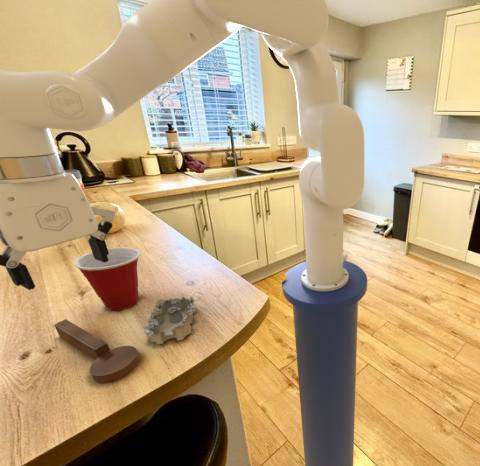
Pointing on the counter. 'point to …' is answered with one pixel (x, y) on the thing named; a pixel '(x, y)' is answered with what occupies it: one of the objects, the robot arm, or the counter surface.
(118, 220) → the cream rounded lump
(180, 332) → the crystal geode chunk
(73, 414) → the counter surface
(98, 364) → the spoon
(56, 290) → the counter surface
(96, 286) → the plastic cup
